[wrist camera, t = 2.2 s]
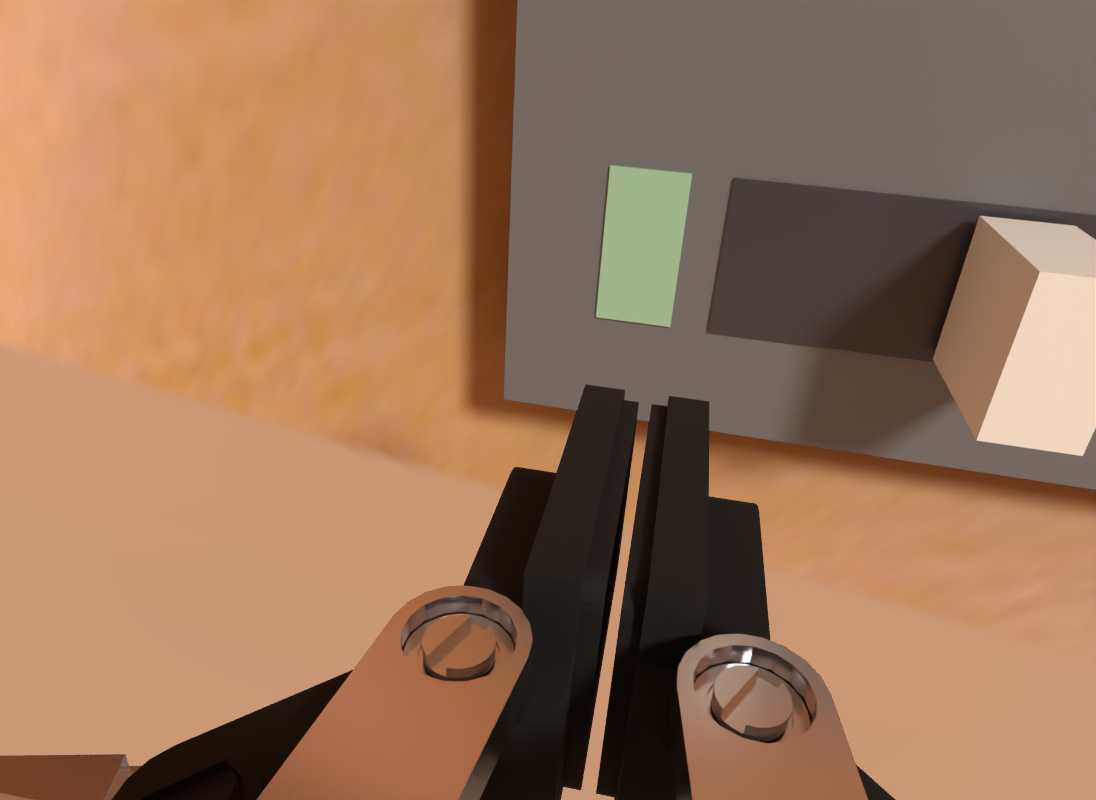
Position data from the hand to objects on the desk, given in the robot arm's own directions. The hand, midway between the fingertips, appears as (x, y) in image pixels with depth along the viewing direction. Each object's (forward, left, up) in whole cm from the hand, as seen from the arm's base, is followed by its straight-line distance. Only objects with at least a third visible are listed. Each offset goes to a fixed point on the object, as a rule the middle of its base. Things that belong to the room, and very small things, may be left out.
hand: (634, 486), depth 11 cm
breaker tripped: (-8, 0, -10) cm, 13 cm away
